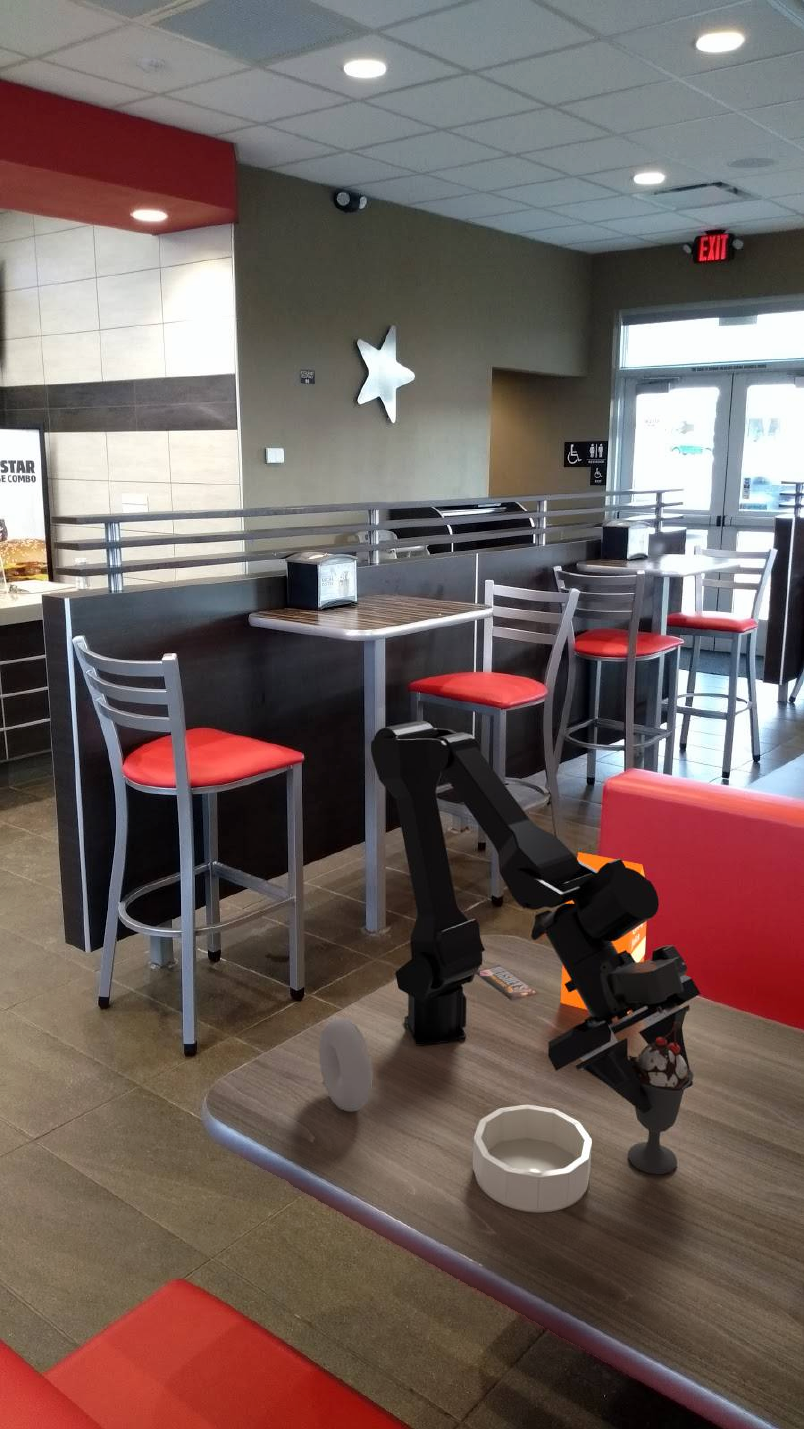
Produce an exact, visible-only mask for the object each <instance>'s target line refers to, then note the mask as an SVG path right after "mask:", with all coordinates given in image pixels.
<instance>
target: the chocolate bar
mask: <svg viewBox="0 0 804 1429" xmlns="http://www.w3.org/2000/svg"><path fill="white" fill-rule="evenodd" d="M475 975H477V976H478V977H480V978H481V979H482V980H484V982H486V983H488V984H489V985H490V986H491V987H493V988H494V989H496V990H497V991H498V992H499V993H501V994H502V995H503V996H505V997H506V998H507V999H509V1000H510V1001H511V1002H516V1001H519V1000H522V999H525V998H529V997H533V996H537V995H538V994H539V992H537V991H535V990H534V989H533V988H532V987H530V986H529V985H527V984H526V983H525V982H523V981H521V980H520V979H519V978H517V977H516V976H515V975H513V974H512V973H511V972H509V970H507V969H506V968H504V967H503V966H502V965H501V964H499V965H495V966H493V967H488V968H484V969H482V970H481V969H480V970H479V969H478V971H477V972H476V973H475Z"/></svg>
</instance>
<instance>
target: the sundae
mask: <svg viewBox="0 0 804 1429" xmlns="http://www.w3.org/2000/svg"><path fill="white" fill-rule="evenodd" d="M675 1025H676V1029H675V1034H674V1043H670V1044H669V1045H667V1041H666V1040H665V1038H666V1037H668V1036H669V1035H670V1034H671V1032H672V1031H673V1029H674V1027H675ZM679 1025H680V1023H679V1022H674V1026H673V1028H672V1031H671V1032H670V1033H669V1034H668V1035H666V1036H665V1037H664V1038H662V1037H658V1038H657V1039H656V1041H655V1042H654V1043H652V1044H649V1045H648V1044H647V1045H646V1046H645V1047H643V1049H642V1050H641V1051H640V1053H639V1054H638V1055H637V1056H632V1055H629V1056H628V1059H629V1061H630V1063H631V1065H632V1067H633V1069H634V1071H635V1073H636V1075H637V1077H638V1079H639V1081H640V1083H641V1084H642V1086H643V1088H644V1090H645V1092H646V1094H647V1097H648V1099H649V1101H650V1104H651V1106H652V1110H651V1111H650V1112H647V1113H642V1112H641V1111H640V1110H639V1109H637V1108H636V1107H635V1106H634V1108H635V1115H636V1119H637V1121H638V1122H639V1123H640V1124H641V1125H642V1126H643V1128H645V1129H646V1130H647V1131H648V1137H647V1138H648V1139H647V1142H646V1141H645V1142H644V1141H643V1142H639V1143H636V1144H634V1145H632V1146H631V1147H630V1148H629V1149H628V1151H627V1157H628V1160H629V1162H630V1163H631V1164H632V1165H633V1166H634V1167H635V1168H636V1169H637V1170H640V1171H642V1172H645V1173H648V1174H652V1175H653V1174H655V1175H662V1174H667V1173H670V1172H672V1171H673V1170H674V1169H675V1168H677V1164H678V1159H677V1157H676V1154H675V1153H674V1152H673V1151H672V1150H671V1149H670V1148H668V1147H666V1146H664V1145H662V1144H660V1141H661V1140H660V1139H661V1138H660V1137H661V1133H662V1132H666V1131H667V1130H669V1129H671V1128H672V1127H673V1126H674V1125H675V1123H676V1120H677V1117H678V1115H679V1112H680V1107H681V1103H682V1100H683V1094H684V1091H685V1090H686V1089H688V1088H689V1087H688V1086H689V1085H690V1083H691V1082H692V1081H693V1079H694V1077H695V1076H694V1073H693V1071H692V1070H691V1069H689V1068H690V1067H689V1068H688V1067H687V1065H686V1063H685V1060H684V1059H683V1058H682V1056H681V1055H680V1054H679V1052H680V1047H679V1045H678V1044H676V1030H677V1027H678V1026H679ZM687 1087H688V1088H687Z"/></svg>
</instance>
